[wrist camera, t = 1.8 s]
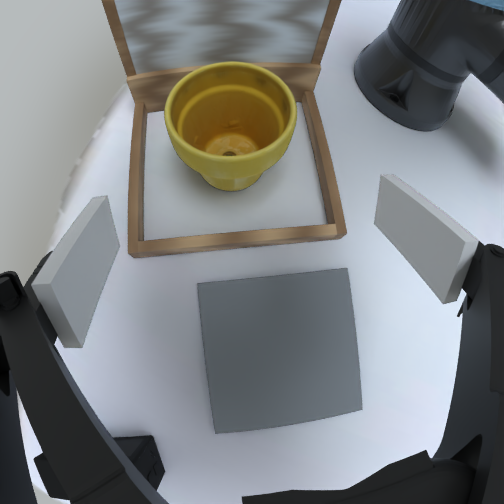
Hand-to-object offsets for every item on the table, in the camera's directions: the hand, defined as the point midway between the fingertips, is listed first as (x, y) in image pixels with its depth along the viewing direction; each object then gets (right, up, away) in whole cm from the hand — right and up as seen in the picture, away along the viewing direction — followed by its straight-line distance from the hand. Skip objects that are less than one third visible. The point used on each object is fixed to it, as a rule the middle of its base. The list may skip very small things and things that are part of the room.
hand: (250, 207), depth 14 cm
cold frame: (-2, +7, +17) cm, 19 cm away
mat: (+3, -11, +13) cm, 18 cm away
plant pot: (-2, +7, +17) cm, 19 cm away
